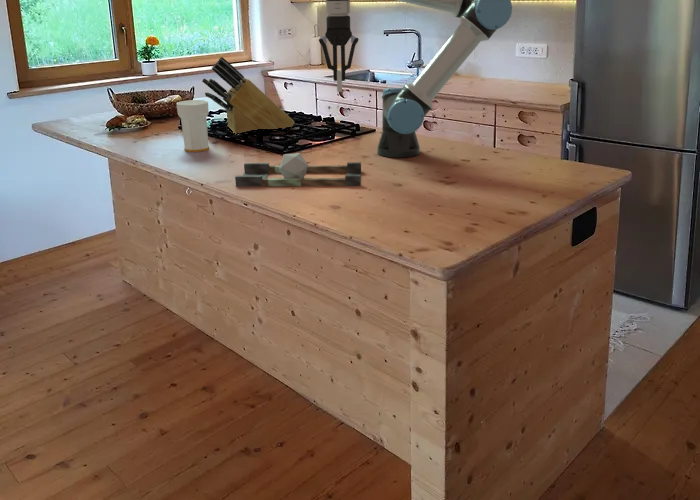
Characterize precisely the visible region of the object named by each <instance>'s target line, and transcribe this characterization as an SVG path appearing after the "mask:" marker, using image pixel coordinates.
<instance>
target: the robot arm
mask: <svg viewBox="0 0 700 500" xmlns="http://www.w3.org/2000/svg"><path fill="white" fill-rule="evenodd" d="M396 1H398V2H402V3H405V4H406V3H407V4H410V5H416V6H420V7H425V8H428V9H433V10H438V11H443V12H447V13H452V15H453V17H454V18H460V23H459V25H458V26H457V28H456V29H455V30H454V32H452V34H451V35H450V36H449V38H448V39H447V40H446V41H445V42H444V44H443V45H442V46H441V47H440V49H439V50H438V51H437V52H436V53H435V55H434V56H433V57H432V58H431V59H430V61H429V62H428V63H427V64H426V66H425V67H424V68H423V69H422V71H421V72H420V73H419V74H418V76H417V77H416V78H415V79H414V80H413V82H412V83H408V84H404V85H403V87H394V88H393V87H392V88H391V87H390V88H384V89H383V90H382V96H381V99H382V114H381V115H382V122H381V123H382V124H381V125H382V126H381V127H382V132H381V134H380V138H379V141H378V145H377V154H378V155H380V156H382V157H386V158H397V159H398V158H401V159H403V158H410V157H411V158H412V157H415V156H418V155H419V154H421V153H420V152H421V151H420V150H421V149H420V143H419V140H418V137H417V134H416V131H418V130H419V129H420V128H421V126H422V125H423V123H424V120H425V116H426V115H428V113H429V112H430V111H431V110H432V108H433V100H434V98H435V97H436V96H437V95H438V94H439V92H440V91H441V90H442V89H443V88H444V87H445V86H446V84H447V83H448V82H449V80H450V79H451V78H452V77H453V76H454V75H455V73H456V72H457V71H458V70H459V68H460V67H461V66H462V65H463V64H464V62H465V61H466V60H467V59H468V57H470V55H471V54H472V52H473V51H475V49H477V47H478V45H480V43H482V42H486V41H489V39H491V37H493V35H494V34H495V32H496V31H497V30H498V29H501V28H502V27H504V26H505V25H506V24H507V23H508V22H509V20H510V19H511V17H512V13H513V4H512V0H396ZM325 12H326V15H327V16H326V30H325V31H326V32H325V33H324V35H323V36H322V37H319V39H318V42H319V44H320V45H321V46H322V51H323V55H324V58H325V62H326V66H327V69H328V70H331V71H332V72H333V74H332V75H333V81H334V82H336V90H337V91H336V92H337V93H342V92H343V82H345V81H346V70H350V69H351V66H352V63H353V58H354V54H355V49H356V46H357V44H358V42H359V37H356V36H355V35H353V33H352V31H351V16H350V15H349V14H350V13H351V0H325ZM350 39H351V40H350ZM349 41H350V43H351V45H350V51H349V56H348V59H347V60H348V61H347V64H346V45H347V44H348V43H349ZM327 42H329V43H330V44H331V45H332V61H331V58H330V54H329V50H328V46H327ZM338 46H340V64H341V65H340V67H341V69H339V70H338ZM332 63H333V64H332Z"/></svg>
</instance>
